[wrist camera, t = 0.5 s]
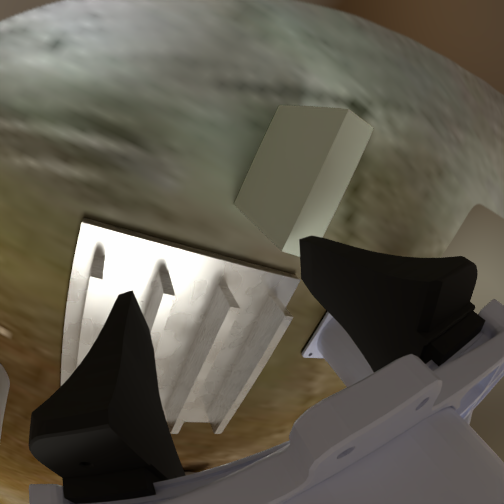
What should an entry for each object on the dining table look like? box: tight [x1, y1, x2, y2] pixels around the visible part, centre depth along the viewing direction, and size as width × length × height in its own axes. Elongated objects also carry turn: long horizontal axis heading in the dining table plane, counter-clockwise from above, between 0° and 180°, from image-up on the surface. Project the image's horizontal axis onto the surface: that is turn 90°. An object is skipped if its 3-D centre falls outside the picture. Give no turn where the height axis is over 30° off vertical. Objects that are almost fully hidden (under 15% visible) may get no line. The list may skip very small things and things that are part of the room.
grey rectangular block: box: [234, 105, 374, 257], centre depth 18 cm, size 2×8×8 cm, turn 154°
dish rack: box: [61, 218, 300, 434], centre depth 24 cm, size 18×20×4 cm
